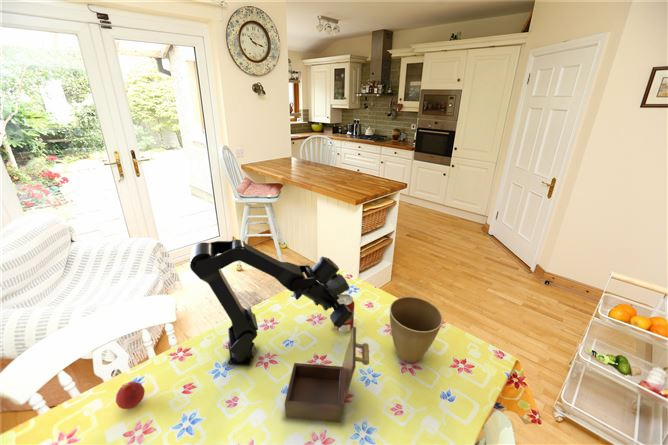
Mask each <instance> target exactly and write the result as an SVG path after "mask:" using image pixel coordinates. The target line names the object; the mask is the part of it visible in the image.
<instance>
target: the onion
mask: <svg viewBox="0 0 668 445" xmlns="http://www.w3.org/2000/svg"><path fill="white" fill-rule="evenodd" d="M145 392H146V391H145V388H144V386H143V385H142V383H141V382H138V381H128V382H125V383H122V385H121V387H120V388H119V389H118V391H117V392H116V395H115V403H116V405H117V407H118V408H119V409H123V410H131V409H133V408H135V407H137V406H138V405H139V404H141V402H142V400H143V399H144V397H145Z"/></svg>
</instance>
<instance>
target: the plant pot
mask: <svg viewBox="0 0 668 445" xmlns="http://www.w3.org/2000/svg"><path fill="white" fill-rule="evenodd" d="M443 318H444V317H443V314H442V312H441V310H439V308H438V307H437V306H436V305H434V304H433V303H431V302H430V301H429V300H427V299H423V298H420V297H417V296H402V297H398V298H396V299H394V300H393V301H392V302H391V303H390V306H389V323H390V332H391V337H392V342H393V346H394V349H395V353H396V354H397V356H398V358H400V360H402V361H404V362H407V363H411V364H412V363H417V362H418V361H419V360H420V359H421V358H422V357H423V356H424V355H425V354H426V352H427V351H428V350H429V348H430V347H431V346H432V345H433V344H434V343H433V342H434V341H435V339H436V337H437V335H438V333H439V332H440V329H441V327H442V325H443V321H444V319H443Z"/></svg>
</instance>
